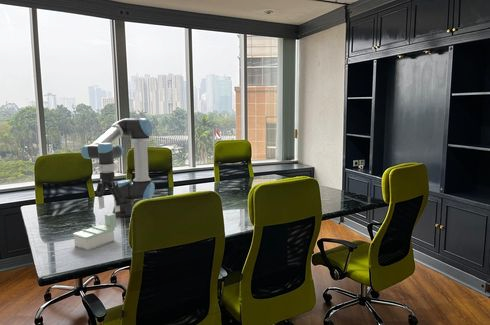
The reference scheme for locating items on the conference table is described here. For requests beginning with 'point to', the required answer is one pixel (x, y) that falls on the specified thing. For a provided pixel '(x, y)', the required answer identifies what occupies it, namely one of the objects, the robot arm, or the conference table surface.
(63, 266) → the conference table surface
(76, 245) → the tub
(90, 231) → the lid
